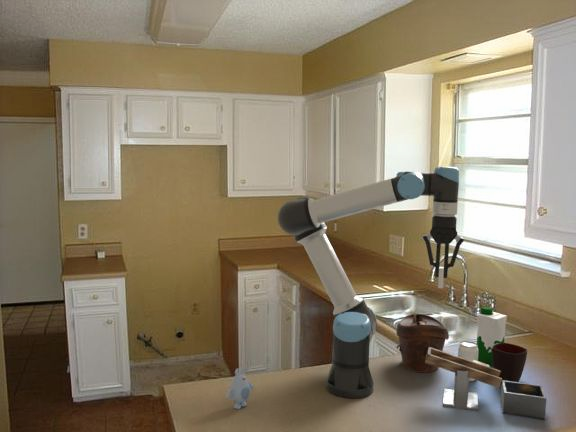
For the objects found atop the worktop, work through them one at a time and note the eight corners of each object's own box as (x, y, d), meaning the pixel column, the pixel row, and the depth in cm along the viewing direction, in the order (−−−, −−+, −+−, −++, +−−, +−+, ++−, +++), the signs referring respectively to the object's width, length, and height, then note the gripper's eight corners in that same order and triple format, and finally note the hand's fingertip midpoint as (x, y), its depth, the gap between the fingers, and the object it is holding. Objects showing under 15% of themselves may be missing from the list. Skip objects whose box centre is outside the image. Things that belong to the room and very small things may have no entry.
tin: (502, 413, 159) (504, 392, 159) (500, 400, 168) (502, 380, 167) (544, 419, 156) (546, 398, 155) (540, 406, 165) (541, 385, 164)
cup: (485, 381, 182) (487, 347, 181) (507, 372, 191) (510, 339, 189) (513, 392, 174) (515, 356, 173) (535, 381, 183) (537, 347, 181)
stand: (443, 405, 164) (445, 369, 162) (444, 390, 174) (445, 357, 173) (478, 411, 161) (480, 374, 159) (477, 395, 171) (479, 361, 170)
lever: (425, 362, 166) (427, 354, 165) (427, 347, 179) (430, 339, 179) (499, 387, 160) (502, 379, 160) (496, 370, 173) (498, 362, 173)
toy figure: (233, 416, 154) (233, 375, 153) (219, 408, 158) (219, 369, 157) (260, 404, 162) (260, 365, 160) (246, 397, 166) (246, 359, 165)
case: (416, 351, 208) (418, 306, 206) (458, 369, 192) (461, 320, 190) (382, 361, 199) (383, 313, 196) (423, 381, 182) (425, 329, 180)
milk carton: (483, 356, 206) (487, 304, 203) (506, 363, 199) (510, 310, 197) (471, 361, 200) (474, 308, 198) (494, 369, 193) (498, 314, 191)
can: (461, 372, 189) (463, 339, 188) (479, 377, 185) (481, 343, 184) (453, 378, 184) (455, 344, 183) (472, 383, 180) (474, 348, 179)
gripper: (422, 215, 172) (419, 288, 175) (466, 217, 168) (461, 292, 171) (424, 212, 179) (420, 282, 182) (465, 215, 175) (461, 286, 178)
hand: (440, 287), depth 176 cm, fingers closed
